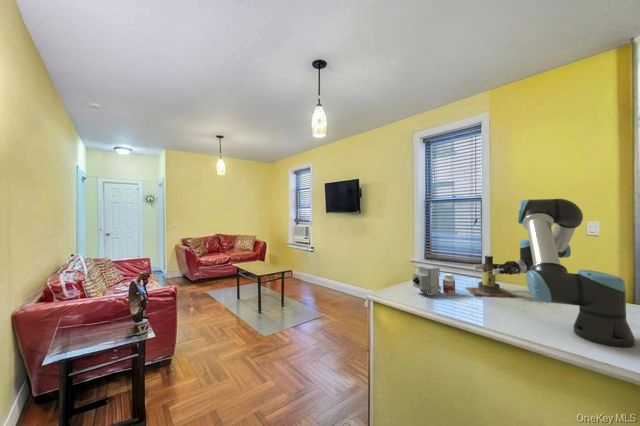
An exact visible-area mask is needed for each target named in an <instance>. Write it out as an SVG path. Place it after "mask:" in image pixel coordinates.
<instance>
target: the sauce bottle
mask: <svg viewBox="0 0 640 426" xmlns="http://www.w3.org/2000/svg"><path fill="white" fill-rule="evenodd" d="M493 259H494V256H493V255H487V254H486V255H484V264H485V265H484V266H483V270H482V281H481V282H482V284H483V285H488V286H495V283H496V275H493V269H495V267H494V266H493V264H494V263H493Z"/></svg>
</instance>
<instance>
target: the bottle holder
mask: <svg viewBox="0 0 640 426" xmlns="http://www.w3.org/2000/svg"><path fill="white" fill-rule="evenodd" d="M477 286H478V287H471V286H470V287H469V286H466V287H465V290H466V291H467V290H468V291H469V293H470V294H471V295H472V294H473V295H472V296H473V297H482V296H487V298H489V297H490V298H494V297H495V298H516V295H515V294H514V293H512V292H510V291H508V290H507V289H505V288H503V287H501V286H500V284H499V283H496V282H495V286H488V285H483V284H482V281H479V282H478V283H477ZM468 291H467V292H468Z"/></svg>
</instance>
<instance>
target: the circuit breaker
mask: <svg viewBox="0 0 640 426" xmlns="http://www.w3.org/2000/svg"><path fill="white" fill-rule="evenodd" d="M412 274H413V275H412V283H413V285H412V286H413V287H414V288H417V289H419V292H420V291H421V292H423V293H422V294H424V293H426V294H429V295H430V294H437V295H439V294H438V293H441V291H442V288H441V287H442V286H441V285H440V276H441V270H440V267H438V266H434V265H422V266H421V265H420V266H419V272H414V273H412ZM421 292H420V293H421ZM427 292H428V293H427ZM426 294H425V295H426ZM429 295H428V296H429ZM430 296H431V295H430Z"/></svg>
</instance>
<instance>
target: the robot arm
mask: <svg viewBox="0 0 640 426" xmlns="http://www.w3.org/2000/svg"><path fill="white" fill-rule="evenodd" d="M518 207H519V208H518V218H517V223H518V224H521V225H522V227H523V228H525V229H526V230H527V234H528V239H521V240H520V241H519V259H518V260H507V261H505V262H504V263H501V264H499V263H493V266H494V267H495V269H493V275H495V276H497V275H510V276H512V275H519V276H520V275H521V274H525V275H526V276H525V278H526V283H527V289H528V292H529V294H530V296H531V297H532V299H534V300H535V301H539V302H545V303H547V304H548V303H553V304H561V305H570V306H578V308H579V309H578V314H577V317H576V319H575V321H574V323H573V333H574V334H575V335H577V336H579V337H580V338H582V339H585V340H587V341H591V342H593V343H598V344H602V345H606V346H610V347H617V348H618V347H619V348H631V346H632V347H634V346H635V345H636V344H635V343H636V342H635V341H636V339H635V336H634V333H633V332H632V329H631V327H630V325H629V323H628V320H627V302H626V301H627V300H626V299H627V298H626V293H627V289H626V284H625V280H624V279H623V278H622V277H619V276H617V275H614V274H611V273H606V272H601V271H596V270H589V269H578V271H577V273H572V272H569V271H568V269H567V267H566V266H564V265H563V264H561V262H560V261H561V260H560V258H561V259H562V258H570V257H571V253H572V251H571V246H570V245H569V244H570V242H571V239H572V237H573V235H574V233H575V230H576V229H577V228H578V227H580V226H581V224H582V222H583V220H584V214H583V211H582V209H581V208H580V207H579V206H578V205H577V204H576V203H574V202H573V201H571V200H568V199H565V198H541V199H524V200H520V202H519V205H518ZM554 224H555V225H554ZM553 225H554V228H553V230H552V226H553ZM484 265H485V263H482V262H481V263H480V264H474V265H473V270H475V271H476V270H477V271H478V270H482V271H483V266H484Z"/></svg>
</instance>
